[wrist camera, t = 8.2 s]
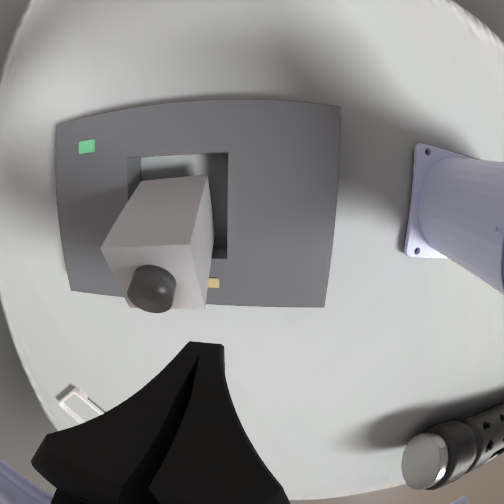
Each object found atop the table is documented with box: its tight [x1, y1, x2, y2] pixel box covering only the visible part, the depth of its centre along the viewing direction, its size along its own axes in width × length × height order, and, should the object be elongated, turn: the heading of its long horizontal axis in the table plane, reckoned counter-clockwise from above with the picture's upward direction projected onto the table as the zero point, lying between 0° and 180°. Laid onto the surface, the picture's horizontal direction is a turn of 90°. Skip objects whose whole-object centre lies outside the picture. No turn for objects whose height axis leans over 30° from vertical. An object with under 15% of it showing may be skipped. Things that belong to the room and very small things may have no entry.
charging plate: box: [55, 99, 340, 307], centre depth 16 cm, size 18×12×2 cm, turn 88°
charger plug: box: [100, 175, 215, 313], centre depth 13 cm, size 4×4×7 cm
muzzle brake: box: [402, 403, 504, 490], centre depth 20 cm, size 10×28×10 cm, turn 81°
